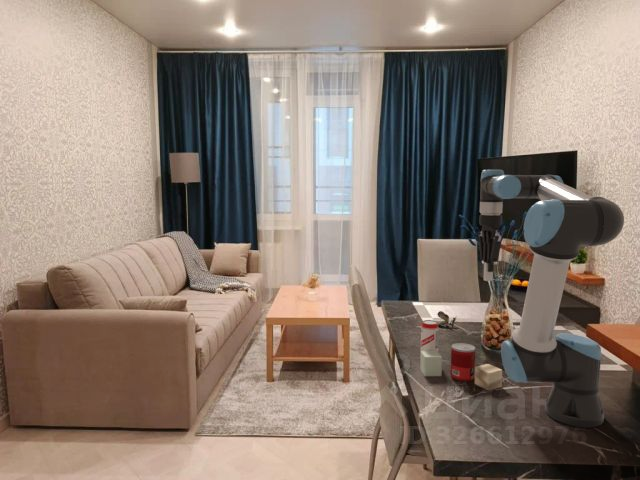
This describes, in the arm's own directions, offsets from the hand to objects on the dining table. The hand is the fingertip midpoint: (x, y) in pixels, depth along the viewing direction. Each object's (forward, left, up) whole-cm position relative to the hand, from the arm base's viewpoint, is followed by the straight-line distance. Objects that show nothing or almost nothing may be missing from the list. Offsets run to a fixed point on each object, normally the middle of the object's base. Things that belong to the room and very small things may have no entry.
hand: (488, 280), depth 173 cm
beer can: (+8, +18, -33) cm, 38 cm away
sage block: (0, +21, -33) cm, 39 cm away
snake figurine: (+50, -10, -33) cm, 61 cm away
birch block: (-14, +7, -33) cm, 36 cm away
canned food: (-6, +12, -33) cm, 35 cm away
